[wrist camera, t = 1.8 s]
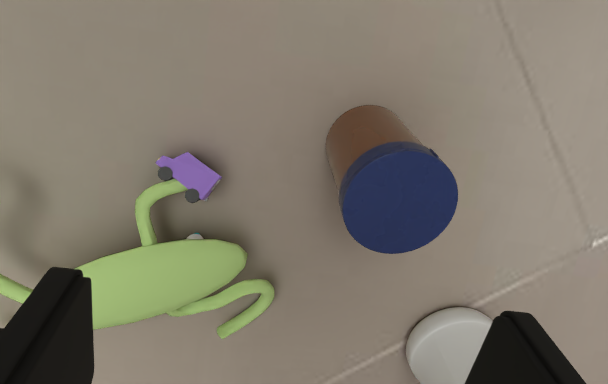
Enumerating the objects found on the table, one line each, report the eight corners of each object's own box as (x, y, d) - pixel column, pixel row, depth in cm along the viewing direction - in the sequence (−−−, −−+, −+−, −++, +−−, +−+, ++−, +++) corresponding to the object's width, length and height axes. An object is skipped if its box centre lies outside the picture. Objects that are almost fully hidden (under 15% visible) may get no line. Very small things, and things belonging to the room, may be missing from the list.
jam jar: (358, 88, 33) (391, 131, 24) (423, 133, 35) (473, 186, 26) (309, 156, 35) (324, 217, 26) (372, 195, 37) (404, 262, 28)
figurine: (-106, 140, 32) (-174, 173, 27) (271, 136, 34) (273, 166, 29) (-23, 334, 40) (-64, 386, 35) (274, 321, 42) (276, 368, 37)
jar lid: (386, 118, 25) (393, 127, 24) (471, 176, 27) (483, 187, 26) (316, 208, 28) (319, 222, 26) (400, 255, 30) (407, 270, 28)
